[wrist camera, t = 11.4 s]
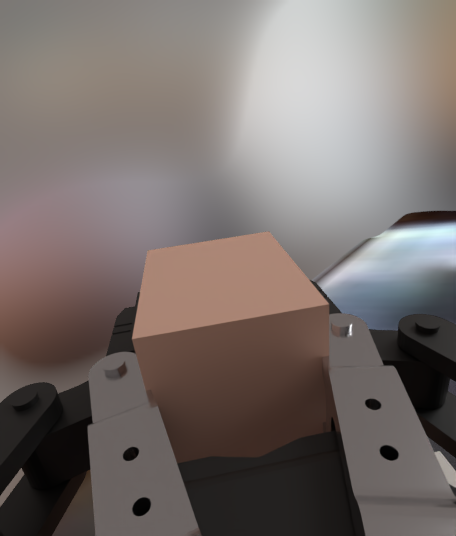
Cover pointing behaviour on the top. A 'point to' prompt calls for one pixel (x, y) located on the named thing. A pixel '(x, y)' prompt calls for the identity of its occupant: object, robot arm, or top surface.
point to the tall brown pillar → (232, 346)
